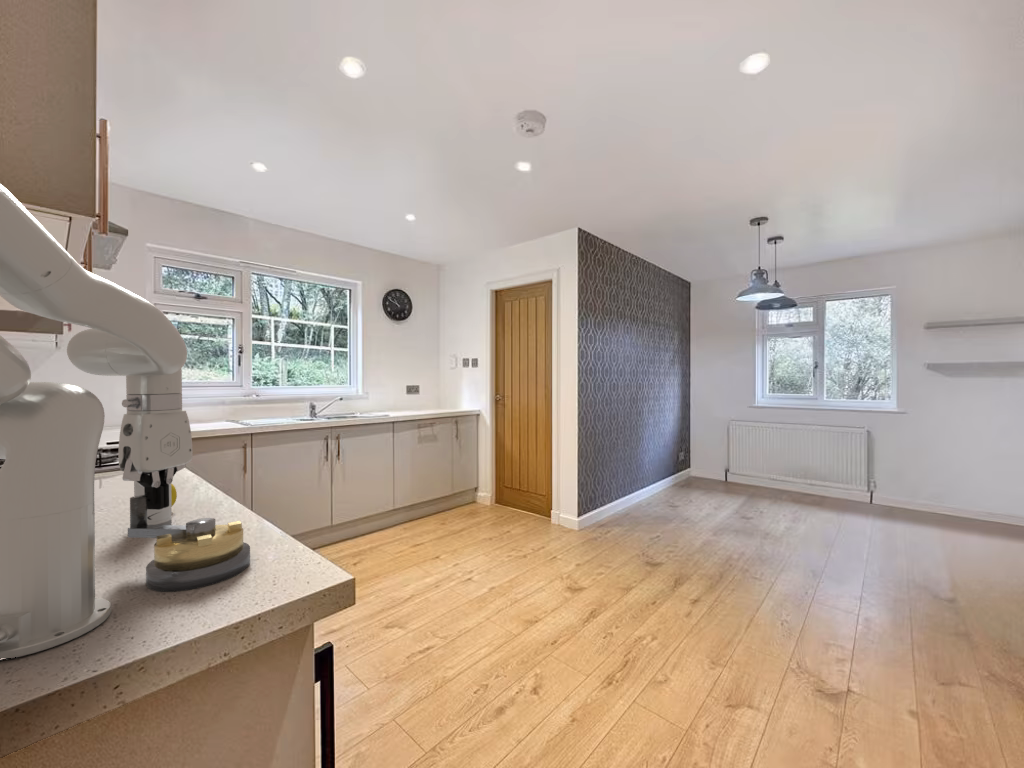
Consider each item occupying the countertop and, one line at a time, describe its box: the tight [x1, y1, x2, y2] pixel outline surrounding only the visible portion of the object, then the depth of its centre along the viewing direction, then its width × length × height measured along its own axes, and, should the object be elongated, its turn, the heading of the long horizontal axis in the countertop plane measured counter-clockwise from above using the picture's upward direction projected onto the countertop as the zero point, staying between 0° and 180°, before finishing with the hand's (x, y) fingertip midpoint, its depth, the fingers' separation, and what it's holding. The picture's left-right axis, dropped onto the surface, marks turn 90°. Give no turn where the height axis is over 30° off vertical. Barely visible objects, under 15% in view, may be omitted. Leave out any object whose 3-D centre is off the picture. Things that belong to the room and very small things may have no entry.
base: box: [145, 541, 251, 593], centre depth 71 cm, size 14×14×2 cm
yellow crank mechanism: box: [127, 495, 244, 570], centre depth 72 cm, size 18×12×10 cm, turn 87°
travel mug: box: [133, 474, 173, 525], centre depth 94 cm, size 6×7×20 cm
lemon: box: [171, 483, 178, 508], centre depth 103 cm, size 6×6×8 cm
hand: (157, 507), depth 75 cm, fingers closed
